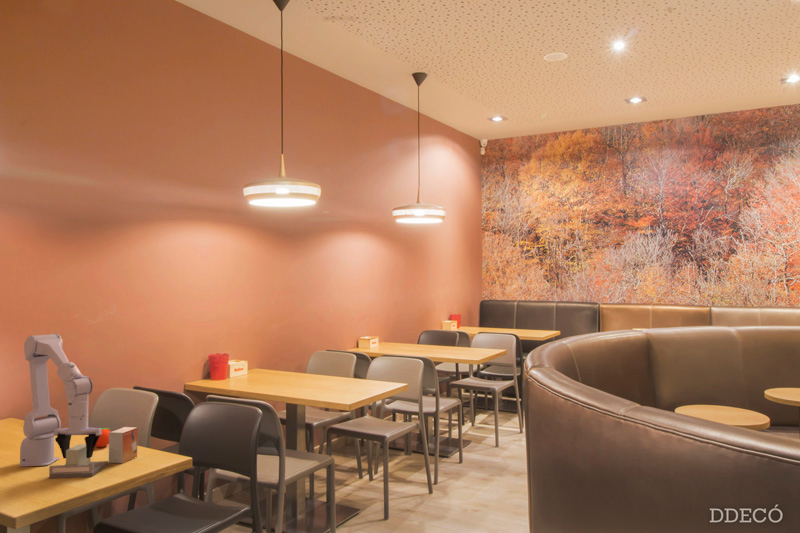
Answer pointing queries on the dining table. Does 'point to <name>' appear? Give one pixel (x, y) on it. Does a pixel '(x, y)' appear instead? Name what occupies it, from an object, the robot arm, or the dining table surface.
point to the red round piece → (103, 438)
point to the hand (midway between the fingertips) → (77, 457)
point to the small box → (123, 444)
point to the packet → (77, 455)
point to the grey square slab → (76, 470)
